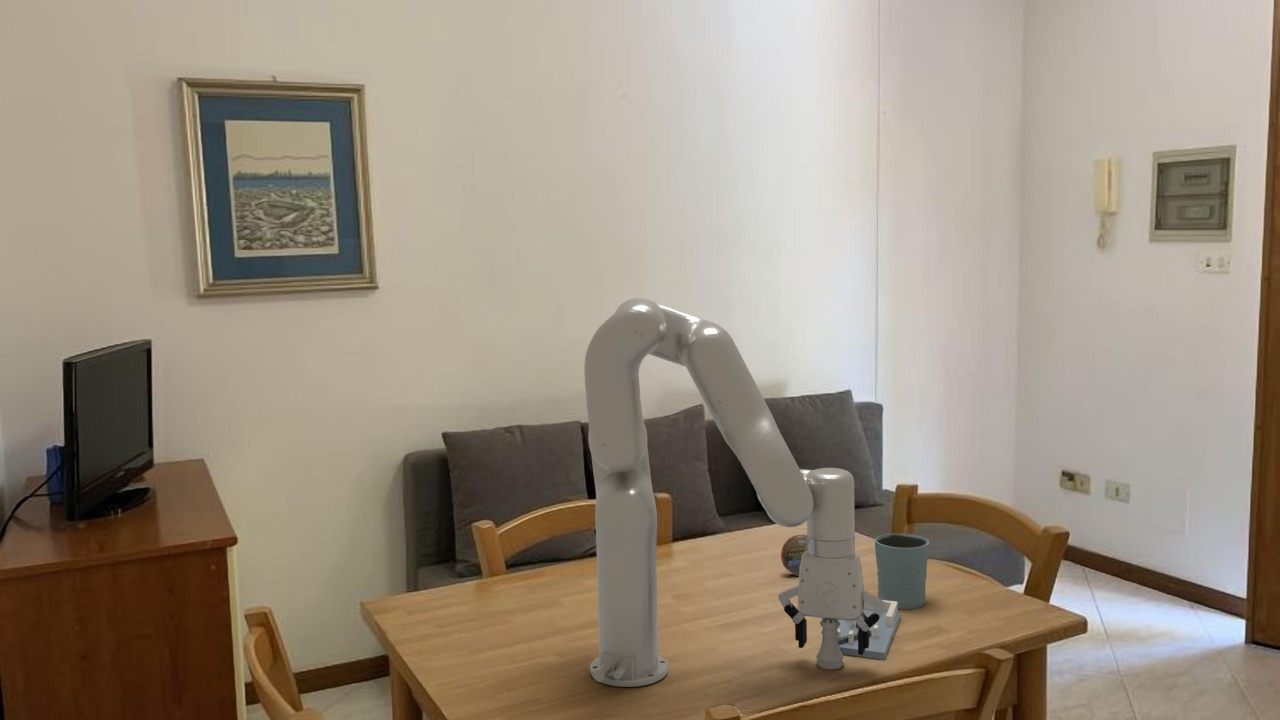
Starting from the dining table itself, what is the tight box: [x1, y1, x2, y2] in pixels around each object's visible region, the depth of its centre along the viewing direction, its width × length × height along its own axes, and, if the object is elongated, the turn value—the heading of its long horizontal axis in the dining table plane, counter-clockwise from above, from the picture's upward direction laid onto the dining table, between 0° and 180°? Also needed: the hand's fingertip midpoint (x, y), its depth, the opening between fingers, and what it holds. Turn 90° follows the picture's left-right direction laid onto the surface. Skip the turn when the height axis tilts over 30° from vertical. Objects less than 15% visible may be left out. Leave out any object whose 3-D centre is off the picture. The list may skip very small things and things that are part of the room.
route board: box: [837, 600, 901, 661], centre depth 180 cm, size 20×10×3 cm, turn 159°
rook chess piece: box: [816, 618, 845, 671], centre depth 167 cm, size 4×4×8 cm
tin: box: [780, 533, 807, 577], centre depth 214 cm, size 15×3×8 cm, turn 108°
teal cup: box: [874, 533, 930, 610], centre depth 196 cm, size 10×10×12 cm
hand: (832, 648), depth 167 cm, fingers open, 9 cm apart
